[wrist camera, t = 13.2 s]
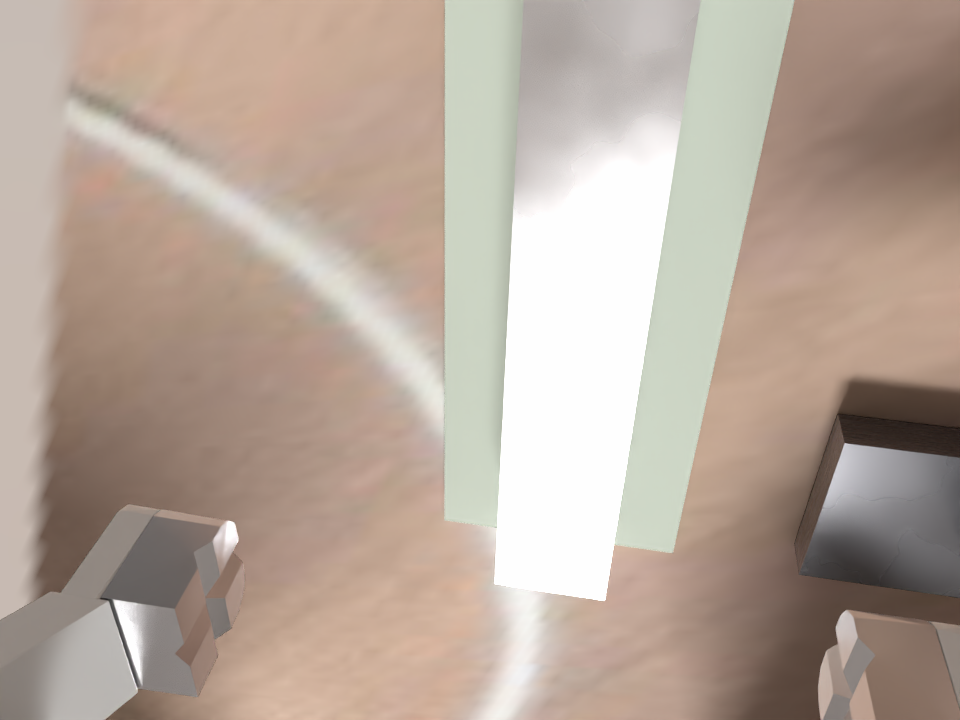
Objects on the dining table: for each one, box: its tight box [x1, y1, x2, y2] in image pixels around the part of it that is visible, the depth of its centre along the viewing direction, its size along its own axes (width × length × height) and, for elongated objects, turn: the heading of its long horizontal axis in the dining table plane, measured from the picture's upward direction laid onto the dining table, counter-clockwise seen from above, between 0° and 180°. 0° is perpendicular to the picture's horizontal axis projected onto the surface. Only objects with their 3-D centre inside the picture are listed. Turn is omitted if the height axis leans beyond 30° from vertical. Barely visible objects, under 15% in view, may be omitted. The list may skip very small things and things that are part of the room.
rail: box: [495, 0, 701, 600], centre depth 20 cm, size 20×3×3 cm, turn 179°
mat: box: [445, 0, 794, 553], centre depth 21 cm, size 22×7×1 cm, turn 179°
